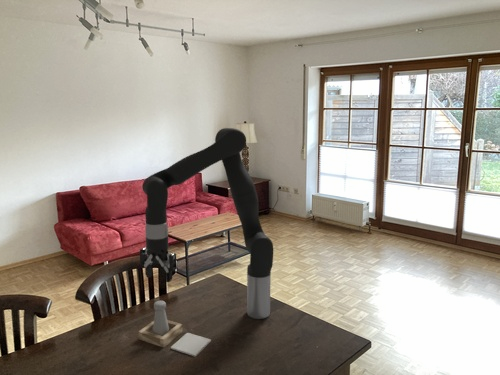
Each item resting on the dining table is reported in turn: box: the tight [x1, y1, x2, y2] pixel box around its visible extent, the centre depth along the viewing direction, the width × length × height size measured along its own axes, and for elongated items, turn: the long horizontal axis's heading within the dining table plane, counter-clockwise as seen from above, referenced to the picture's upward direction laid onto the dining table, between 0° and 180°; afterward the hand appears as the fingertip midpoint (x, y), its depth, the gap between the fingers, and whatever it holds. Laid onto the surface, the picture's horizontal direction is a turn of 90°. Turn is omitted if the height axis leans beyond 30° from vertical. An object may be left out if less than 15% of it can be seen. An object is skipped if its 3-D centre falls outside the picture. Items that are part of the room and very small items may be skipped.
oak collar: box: [138, 319, 184, 348], centre depth 143 cm, size 11×11×3 cm
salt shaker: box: [153, 300, 170, 336], centre depth 142 cm, size 6×6×13 cm
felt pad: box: [170, 332, 212, 357], centre depth 138 cm, size 10×10×1 cm
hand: (158, 279), depth 139 cm, fingers open, 8 cm apart
